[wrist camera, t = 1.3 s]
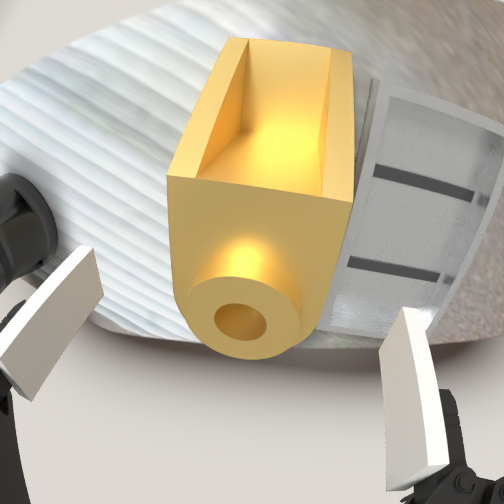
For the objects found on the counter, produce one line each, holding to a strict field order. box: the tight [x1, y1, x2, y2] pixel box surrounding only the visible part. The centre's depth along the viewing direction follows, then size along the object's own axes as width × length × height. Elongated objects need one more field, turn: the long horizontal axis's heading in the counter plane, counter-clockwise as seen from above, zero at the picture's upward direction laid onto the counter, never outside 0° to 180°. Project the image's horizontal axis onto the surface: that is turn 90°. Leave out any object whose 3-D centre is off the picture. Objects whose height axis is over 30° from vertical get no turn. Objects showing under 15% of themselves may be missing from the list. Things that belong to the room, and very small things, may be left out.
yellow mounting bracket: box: [167, 37, 354, 360], centre depth 22 cm, size 20×9×16 cm, turn 175°
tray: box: [316, 79, 504, 340], centre depth 28 cm, size 14×26×4 cm, turn 175°
